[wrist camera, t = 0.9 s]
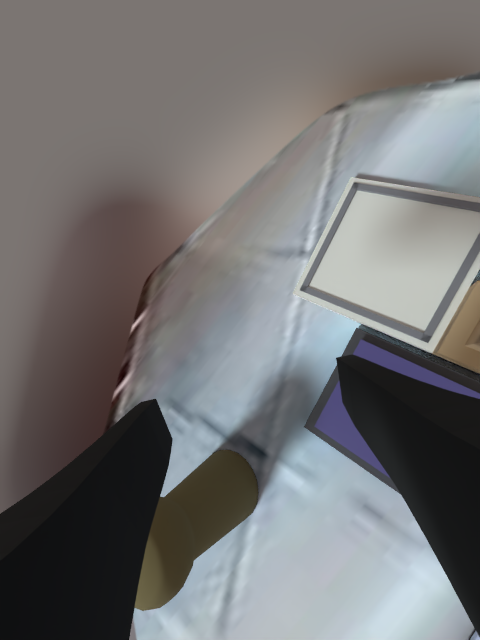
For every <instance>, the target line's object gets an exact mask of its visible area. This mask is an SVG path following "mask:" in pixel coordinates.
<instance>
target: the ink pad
mask: <svg viewBox="0 0 480 640" xmlns="http://www.w3.org/2000/svg"><path fill="white" fill-rule="evenodd" d="M351 354H353V355H356V356H359V357H361V358H364V359H366V360H369V361H371V362H374V363H376V364H378V365H381V366H383V367H386V368H388V369H391V370H393V371H396V372H398V373H401V374H403V375H406V376H408V377H411V378H414V379H417V380H419V381H422V382H425V383H428V384H431V385H434V386H437V387H440V388H443V389H446V390H450V391H453V392H456V393H460V394H464V395H467V396H471V397H474V398H478V399H480V382H479V381H477V380H474V379H472V378H470V377H468V376H465V375H463V374H461V373H458V372H456V371H454V370H452V369H449V368H447V367H445V366H443V365H440V364H438V363H436V362H433V361H431V360H429V359H427V358H424V357H422V356H420V355H417V354H415V353H413V352H411V351H408V350H406V349H404V348H402V347H399V346H397V345H395V344H392V343H390V342H388V341H386V340H383V339H381V338H379V337H376V336H374V335H372V334H370V333H367V332H365V331H363V330H361V329H358V328H356V330H355V332H354V334H353V336H352V337H351V339H350V341H349V343H348V345H347V347H346V349H345V351H344V352H343V354H342V356H347V355H351ZM342 356H341V357H342ZM304 427H305V428H306V429H308V430H309V431H311V432H312V433H314V434H315V435H316V436H318V437H319V438H321V439H322V440H324V441H325V442H326V443H328V444H329V445H331V446H332V447H334V448H335V449H336V450H338V451H339V452H341V453H342V454H344V455H345V456H347V457H348V458H349V459H351V460H352V461H354V462H355V463H357V464H358V465H359V466H361V467H362V468H364V469H365V470H367V471H368V472H370V473H371V474H372V475H374V476H375V477H377V478H378V479H380V480H381V481H382V482H384V483H385V484H387V485H388V486H390V487H391V488H392V489H394V490H395V491H397V492H398V493H400V492H399V490H398V489H397V487H396V486H395V484H394V482H393V481H392V480H391V478H390V477H389V475H388V474H387V472H386V471H385V469H384V468H383V467H382V465H381V464H380V462H379V461H378V459H377V458H376V456H375V455H374V454H373V452H372V451H371V449H370V448H369V446H368V445H367V443H366V442H365V440H364V439H363V438H362V436H361V435H360V433H359V432H358V430H357V429H356V427H355V426H354V424H353V422H352V420H351V418H350V416H349V414H348V412H347V410H346V408H345V406H344V405H343V403H342V396H341V389H340V381H339V374H338V367H337V366H336V368H335V369H334V371H333V373H332V375H331V377H330V379H329V381H328V383H327V384H326V386H325V388H324V390H323V392H322V394H321V396H320V398H319V400H318V401H317V403H316V405H315V407H314V409H313V411H312V413H311V415H310V416H309V418H308V420H307V422H306V424H305V426H304ZM400 494H401V493H400Z"/></svg>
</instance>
